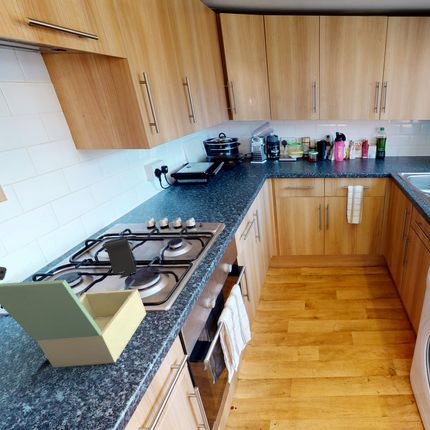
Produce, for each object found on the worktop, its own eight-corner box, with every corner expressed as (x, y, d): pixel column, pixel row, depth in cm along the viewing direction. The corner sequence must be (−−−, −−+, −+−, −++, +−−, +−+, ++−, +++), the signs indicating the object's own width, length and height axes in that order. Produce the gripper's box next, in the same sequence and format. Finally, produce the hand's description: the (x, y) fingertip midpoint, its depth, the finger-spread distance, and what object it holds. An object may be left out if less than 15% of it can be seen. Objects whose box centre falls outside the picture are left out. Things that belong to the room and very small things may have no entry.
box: (96, 317, 80) (84, 292, 76) (146, 313, 81) (137, 289, 77) (53, 367, 66) (36, 340, 62) (115, 362, 67) (102, 335, 63)
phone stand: (136, 274, 97) (125, 243, 92) (115, 279, 95) (103, 249, 90) (136, 261, 104) (126, 232, 99) (116, 266, 102) (105, 236, 97)
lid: (-13, 284, 53) (-17, 287, 52) (65, 279, 54) (62, 282, 53) (36, 337, 62) (33, 340, 61) (102, 332, 63) (100, 335, 62)
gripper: (-76, 219, 34) (47, 250, 51) (-200, 224, 33) (-34, 254, 50) (-103, 282, 32) (36, 294, 48) (-237, 290, 31) (-50, 299, 47)
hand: (0, 274), depth 49 cm, fingers closed
